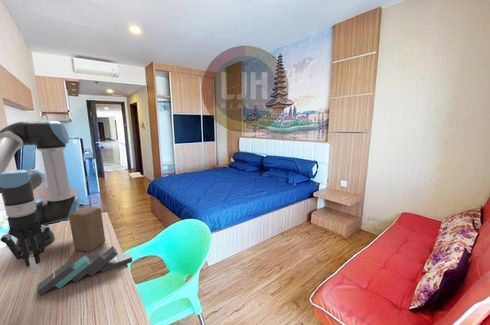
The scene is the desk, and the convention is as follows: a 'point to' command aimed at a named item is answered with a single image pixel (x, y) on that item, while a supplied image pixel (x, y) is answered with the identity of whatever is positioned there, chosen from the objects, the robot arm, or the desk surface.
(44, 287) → the domino
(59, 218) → the robot arm
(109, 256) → the domino
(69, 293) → the desk surface
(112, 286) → the desk surface
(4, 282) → the desk surface
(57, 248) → the desk surface
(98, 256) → the domino
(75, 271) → the domino
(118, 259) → the domino
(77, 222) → the block
